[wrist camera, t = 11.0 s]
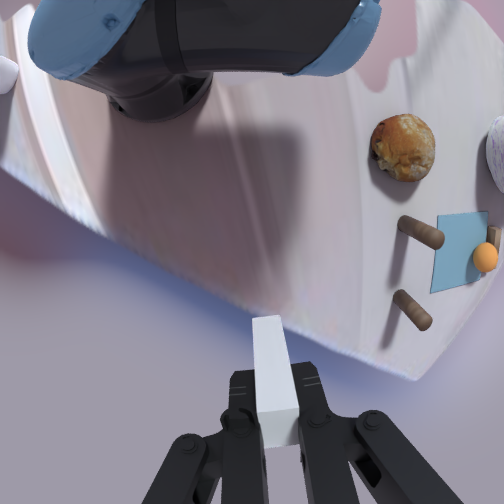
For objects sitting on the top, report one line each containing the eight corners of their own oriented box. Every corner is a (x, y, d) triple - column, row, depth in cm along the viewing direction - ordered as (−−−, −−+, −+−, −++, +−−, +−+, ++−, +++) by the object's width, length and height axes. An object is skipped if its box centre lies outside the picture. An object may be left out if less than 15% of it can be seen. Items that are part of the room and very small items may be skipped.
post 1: (397, 215, 38) (431, 231, 30) (411, 214, 38) (445, 229, 30) (397, 232, 39) (429, 251, 30) (410, 230, 39) (444, 248, 30)
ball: (470, 239, 40) (483, 250, 35) (491, 237, 39) (504, 248, 34) (466, 265, 42) (478, 278, 37) (487, 263, 41) (499, 276, 36)
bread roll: (405, 177, 40) (447, 181, 33) (367, 183, 36) (415, 188, 29) (399, 118, 37) (441, 116, 30) (360, 113, 33) (407, 107, 26)
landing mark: (437, 215, 38) (438, 216, 38) (487, 211, 38) (488, 211, 38) (430, 292, 43) (430, 293, 43) (478, 279, 42) (479, 279, 42)
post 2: (393, 290, 42) (420, 318, 34) (406, 288, 42) (433, 314, 34) (392, 304, 43) (417, 332, 34) (404, 301, 43) (430, 328, 34)
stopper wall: (487, 226, 39) (496, 230, 37) (493, 225, 39) (501, 229, 37) (482, 265, 42) (490, 269, 39) (488, 263, 41) (495, 268, 39)
